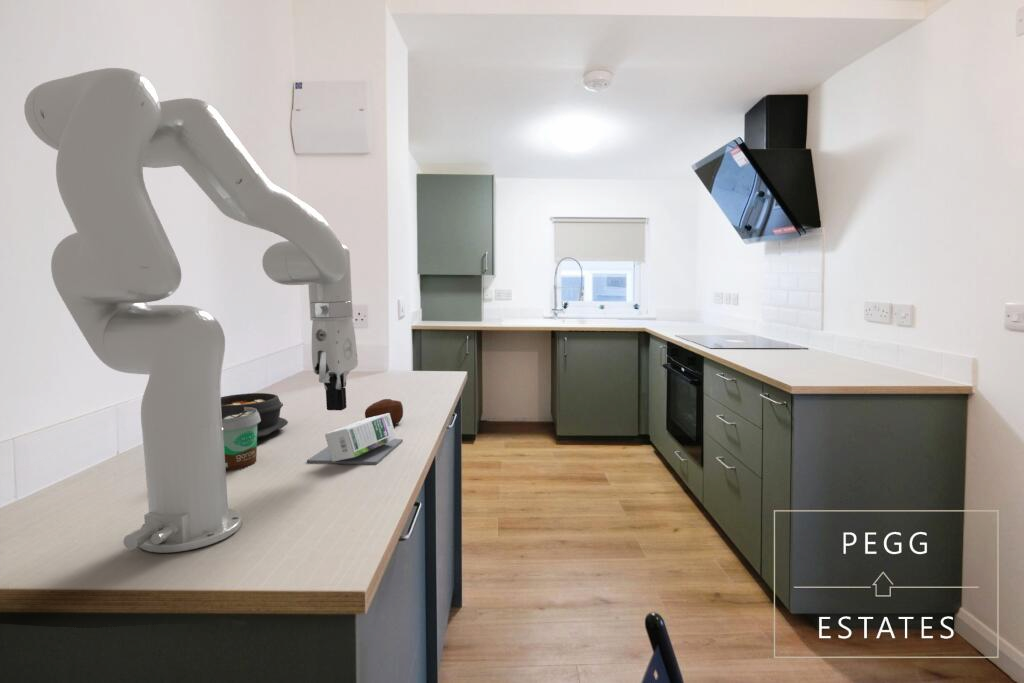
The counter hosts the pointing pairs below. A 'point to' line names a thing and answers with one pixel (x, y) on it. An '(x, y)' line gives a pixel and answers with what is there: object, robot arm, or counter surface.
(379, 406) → the potato
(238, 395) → the casserole
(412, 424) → the counter surface
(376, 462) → the mat
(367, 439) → the syrup box
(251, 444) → the food container
